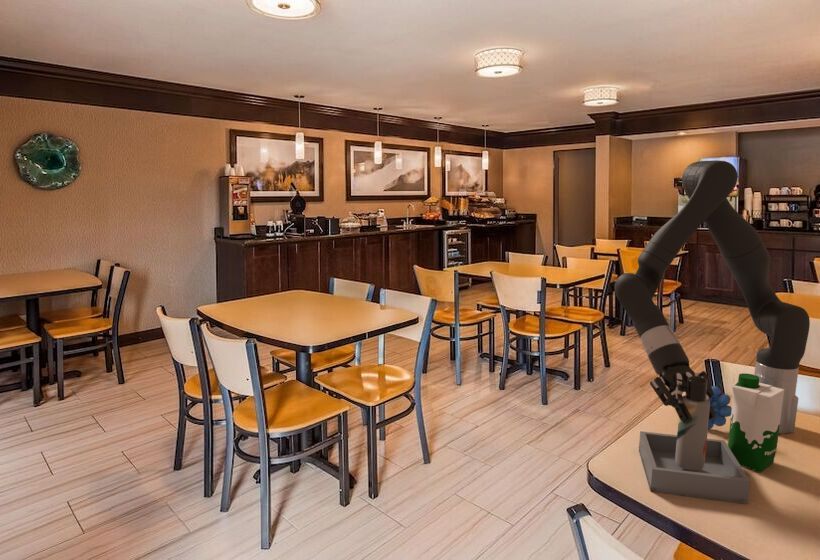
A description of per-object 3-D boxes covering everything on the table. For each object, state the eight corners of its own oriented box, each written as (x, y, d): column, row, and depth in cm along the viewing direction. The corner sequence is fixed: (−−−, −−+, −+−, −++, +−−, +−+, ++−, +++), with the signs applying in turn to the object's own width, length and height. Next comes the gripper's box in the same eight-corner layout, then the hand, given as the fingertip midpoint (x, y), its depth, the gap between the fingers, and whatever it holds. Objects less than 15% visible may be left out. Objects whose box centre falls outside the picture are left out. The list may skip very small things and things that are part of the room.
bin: (722, 460, 126) (724, 440, 125) (747, 504, 109) (750, 481, 108) (638, 450, 131) (640, 431, 130) (650, 491, 113) (652, 469, 113)
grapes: (736, 431, 141) (741, 387, 139) (726, 439, 136) (731, 393, 134) (689, 417, 149) (693, 375, 147) (678, 424, 145) (682, 381, 143)
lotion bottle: (701, 460, 121) (709, 375, 118) (705, 473, 116) (714, 384, 112) (673, 456, 123) (680, 372, 119) (676, 468, 118) (684, 381, 114)
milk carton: (737, 448, 131) (746, 369, 128) (780, 464, 124) (790, 380, 121) (720, 459, 126) (729, 377, 123) (763, 476, 119) (774, 389, 116)
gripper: (646, 344, 120) (683, 418, 111) (699, 339, 124) (738, 409, 115) (628, 360, 126) (662, 431, 117) (679, 354, 130) (715, 422, 121)
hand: (699, 420), depth 116 cm, fingers closed on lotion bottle, 5 cm apart
